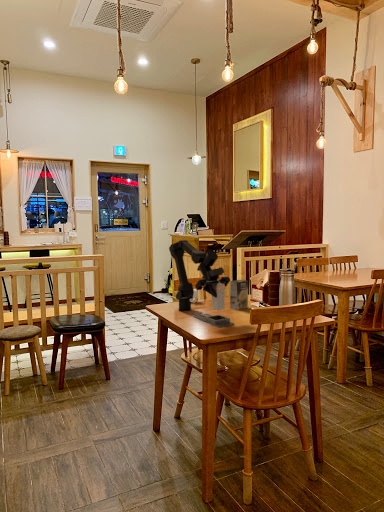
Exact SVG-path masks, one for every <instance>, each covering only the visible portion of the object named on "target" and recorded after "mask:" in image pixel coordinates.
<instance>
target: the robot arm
mask: <svg viewBox="0 0 384 512" xmlns="http://www.w3.org/2000/svg"><path fill="white" fill-rule="evenodd" d="M168 250H169V252H170V256H171V257H172V258H173V259H174V261H175V262H174V263H175V266H176V272H177V276H178V281H179V284H178V288H177V290H178V291H177V292H176V295H175V299H176V300H178V311H187V312H188V311H191V309H192V303H191V302H192V301H190V299H193V294H194V289H197V290H198V291H204V292H206V293H208V294H209V295H211V296H214V297H215V298H216V297H217V296H216V293H215V291H214V289H213V287H212V283H223V284H225V287H227V286H228V284H230V281H231V278H230V276H222V277H220V276H221V275H223V274H224V273H225V270H224V268H223V266H222V267H220V266H219V267H218V268H212V267H213V266H214V265H215V263H216V262H217V260H218V259H219V256H218V253H216V252H214V251H212V249H208V250H207V251H206V252H204V251H202V250H198V249H197V248H196V247H195V246H193V244H192V243H190V242H189V241H188V240H186V239H182V240H181V239H180V240H179V241H176V242H174V243H172V244H170V245H169V247H168ZM185 252H186V253H187V254H188V255H189V256H190V257H191V261H192V262H193V263H194V264H195V265H196V264H199V265H198V266H197V268H196V271H197V272H198V271H200V273H201V275H202V277H201V279H198V280H197V281H196V284H195V286H193V283H192V282H189V279H188V275H187V270H186V265H185V261H184V255H185ZM219 278H220V279H219ZM194 287H195V288H194ZM193 300H194V299H193Z"/></svg>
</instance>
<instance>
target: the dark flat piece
mask: <svg viewBox="0 0 384 512" xmlns="http://www.w3.org/2000/svg"><path fill="white" fill-rule="evenodd" d="M192 318H195V319H197V320H199V321H202V322H205V323H207V324H210V325H212V326H215V327H217V328H219V327H220V328H224V327H230V326H234V325H235V323H234V322H231V318H230V317H227V316H224V315H222V314H216V315H212V314H210V313H200V314H196V315H193V316H192Z"/></svg>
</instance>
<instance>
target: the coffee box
mask: <svg viewBox="0 0 384 512" xmlns="http://www.w3.org/2000/svg"><path fill="white" fill-rule="evenodd" d="M229 308H230V309H231V310H232V309H233V310H237V311H239V310H242V309H246V308H249V280H245V279H236V280H235V279H234V280H230V281H229Z"/></svg>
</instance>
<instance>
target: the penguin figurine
mask: <svg viewBox="0 0 384 512" xmlns="http://www.w3.org/2000/svg"><path fill="white" fill-rule="evenodd" d="M193 289H194V294H193V299H190V301H191V302H192V304H195V303H196V302H197V300H198V299H199V290H197V289H196V288H193Z"/></svg>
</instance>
